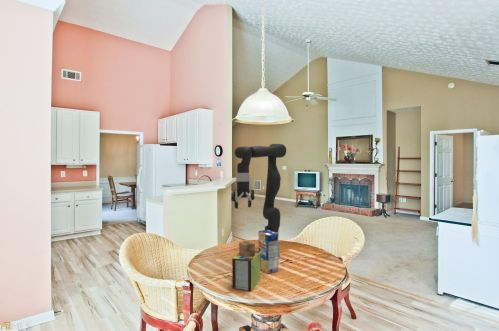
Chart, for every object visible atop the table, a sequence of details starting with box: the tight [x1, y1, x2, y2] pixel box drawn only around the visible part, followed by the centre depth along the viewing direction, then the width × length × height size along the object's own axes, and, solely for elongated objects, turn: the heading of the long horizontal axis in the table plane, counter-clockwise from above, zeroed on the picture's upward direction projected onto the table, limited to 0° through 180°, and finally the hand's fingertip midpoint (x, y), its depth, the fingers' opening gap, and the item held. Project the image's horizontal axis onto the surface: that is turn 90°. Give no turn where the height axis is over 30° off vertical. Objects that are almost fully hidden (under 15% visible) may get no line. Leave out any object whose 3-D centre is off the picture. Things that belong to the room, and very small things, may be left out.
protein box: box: [231, 250, 261, 292], centre depth 147 cm, size 10×15×16 cm
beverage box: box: [257, 229, 279, 275], centre depth 165 cm, size 7×11×22 cm, turn 29°
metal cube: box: [238, 240, 256, 257], centre depth 146 cm, size 6×6×6 cm
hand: (243, 207), depth 166 cm, fingers open, 8 cm apart
